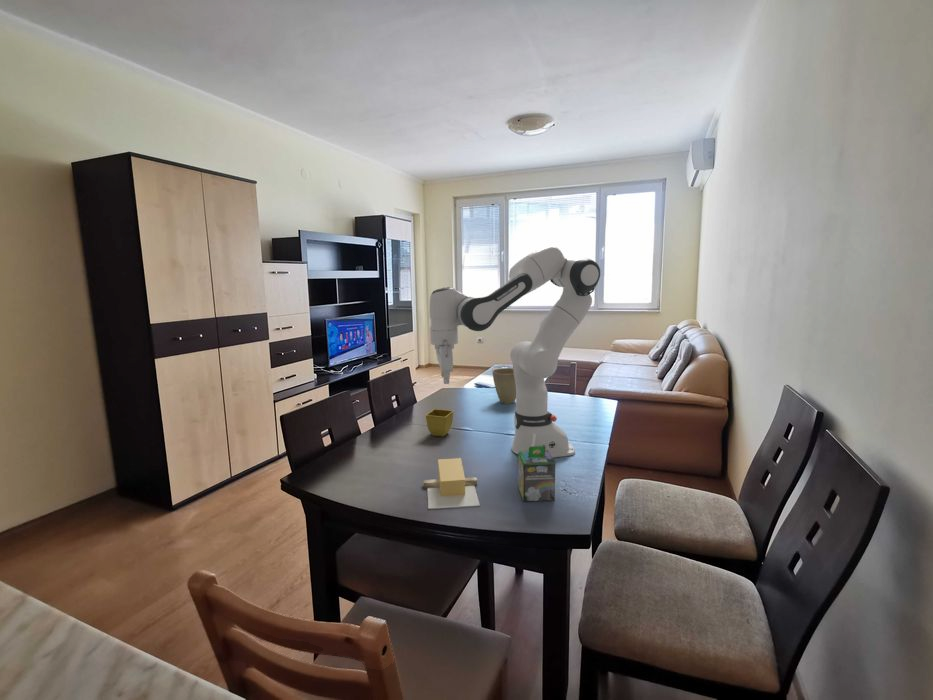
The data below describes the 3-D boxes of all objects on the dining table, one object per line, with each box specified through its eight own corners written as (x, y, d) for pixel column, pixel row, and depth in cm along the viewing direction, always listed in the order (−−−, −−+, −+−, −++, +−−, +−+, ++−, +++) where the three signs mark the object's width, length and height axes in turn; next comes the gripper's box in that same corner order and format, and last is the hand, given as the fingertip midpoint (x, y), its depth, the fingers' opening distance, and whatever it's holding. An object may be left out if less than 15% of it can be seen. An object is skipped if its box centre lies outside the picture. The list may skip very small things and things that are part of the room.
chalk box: (548, 486, 133) (549, 438, 130) (555, 501, 124) (556, 450, 121) (517, 487, 132) (517, 439, 130) (522, 502, 123) (523, 451, 121)
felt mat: (474, 486, 133) (474, 485, 133) (479, 506, 121) (479, 505, 121) (427, 488, 132) (427, 487, 132) (428, 509, 120) (428, 508, 120)
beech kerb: (476, 481, 136) (476, 477, 136) (477, 484, 134) (477, 480, 134) (423, 484, 134) (423, 480, 134) (424, 487, 132) (423, 483, 132)
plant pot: (507, 396, 236) (507, 366, 233) (527, 402, 224) (528, 371, 222) (486, 401, 226) (486, 370, 224) (506, 407, 215) (506, 375, 213)
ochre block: (460, 458, 136) (465, 479, 126) (460, 472, 138) (465, 494, 127) (437, 459, 135) (440, 481, 125) (438, 473, 137) (440, 496, 126)
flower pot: (446, 439, 173) (445, 416, 172) (425, 436, 176) (425, 414, 174) (454, 431, 181) (453, 410, 180) (434, 429, 184) (433, 408, 183)
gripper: (457, 342, 133) (458, 387, 135) (451, 334, 153) (452, 373, 156) (436, 343, 133) (437, 388, 135) (432, 334, 153) (434, 374, 155)
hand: (445, 380), depth 145 cm, fingers open, 8 cm apart
